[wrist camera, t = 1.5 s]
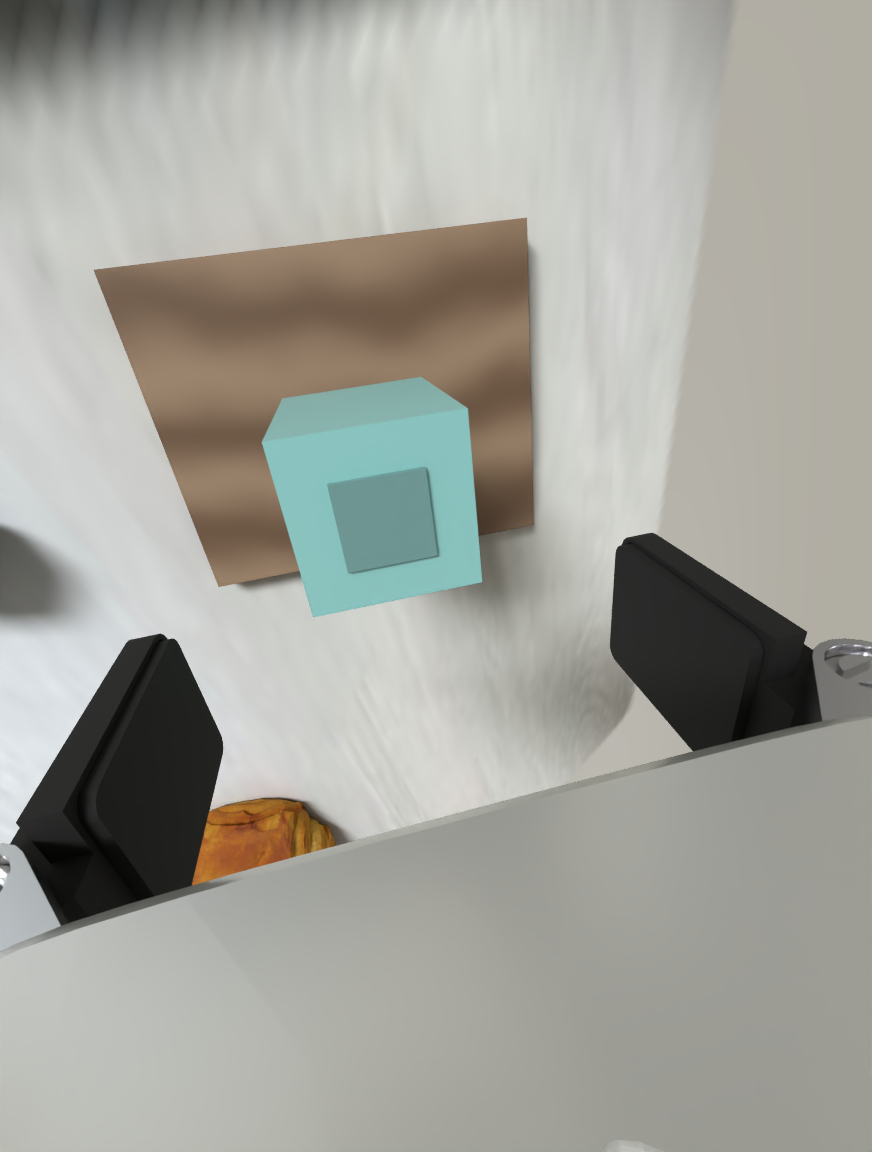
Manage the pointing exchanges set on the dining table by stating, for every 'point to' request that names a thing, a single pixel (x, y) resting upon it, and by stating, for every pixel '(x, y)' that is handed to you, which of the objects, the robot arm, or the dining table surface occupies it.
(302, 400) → the teal block
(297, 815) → the croissant
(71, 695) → the dining table surface
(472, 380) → the stud board
